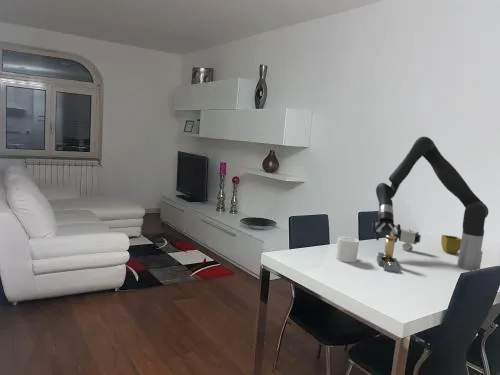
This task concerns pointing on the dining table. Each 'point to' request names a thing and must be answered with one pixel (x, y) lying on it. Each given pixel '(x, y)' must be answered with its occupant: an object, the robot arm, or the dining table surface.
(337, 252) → the mug
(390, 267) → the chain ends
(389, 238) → the brass pin
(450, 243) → the flower pot
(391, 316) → the dining table surface
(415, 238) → the pneumatic valve
